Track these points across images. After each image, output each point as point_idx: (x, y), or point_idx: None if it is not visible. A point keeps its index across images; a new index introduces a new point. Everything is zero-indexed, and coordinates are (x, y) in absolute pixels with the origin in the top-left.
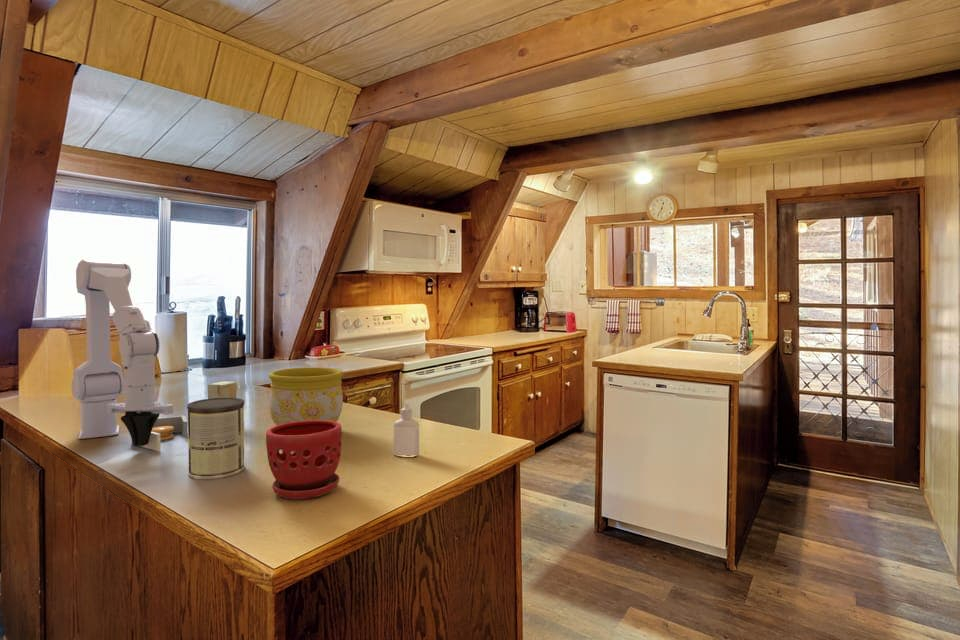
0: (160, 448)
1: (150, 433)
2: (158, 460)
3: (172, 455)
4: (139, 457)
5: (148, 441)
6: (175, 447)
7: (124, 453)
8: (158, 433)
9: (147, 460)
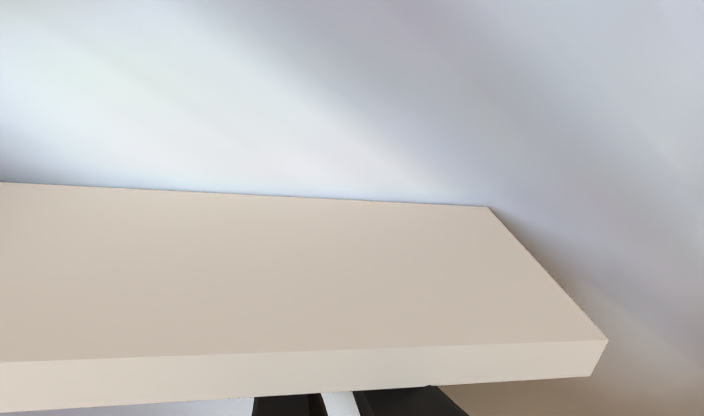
0: (494, 216)
1: (435, 387)
2: (645, 341)
3: (677, 226)
4: None
5: None
6: (536, 25)
7: (199, 400)
8: (574, 347)
9: (567, 379)
